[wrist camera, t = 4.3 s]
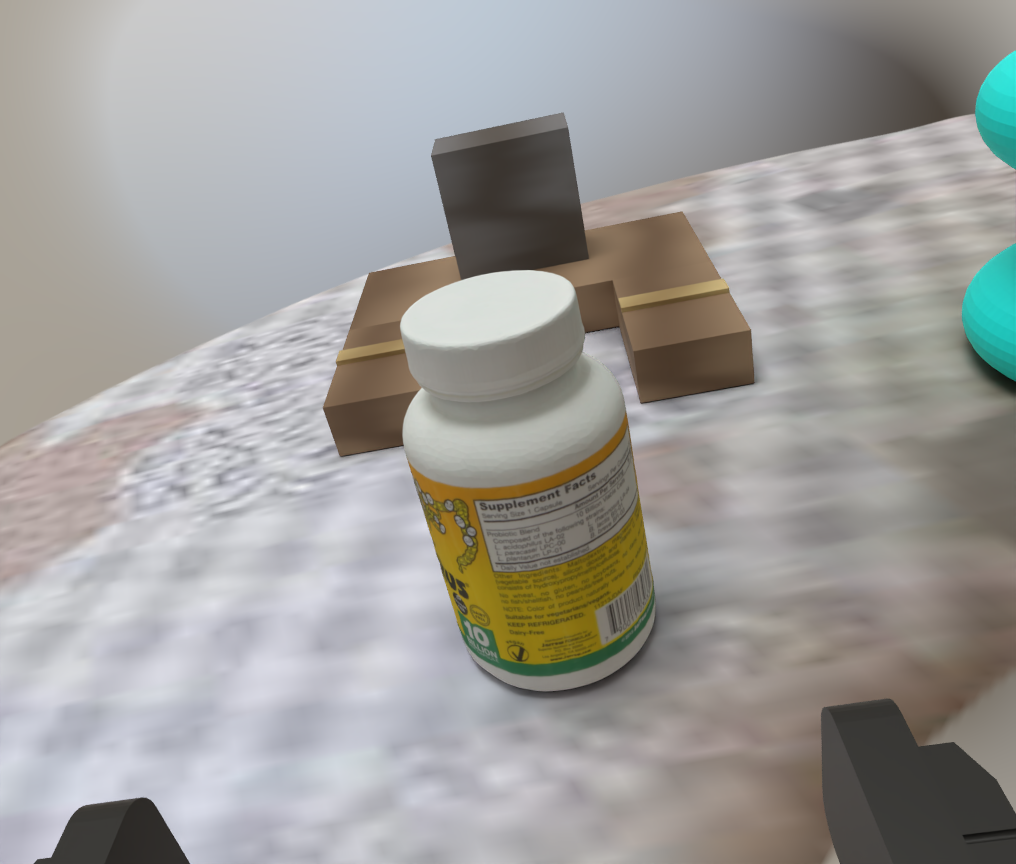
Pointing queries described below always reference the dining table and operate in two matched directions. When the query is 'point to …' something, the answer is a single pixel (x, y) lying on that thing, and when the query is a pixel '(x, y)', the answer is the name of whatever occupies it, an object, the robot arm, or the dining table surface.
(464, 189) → the brown grey u-shaped block
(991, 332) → the donuts
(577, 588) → the supplement bottle
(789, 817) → the dining table surface
